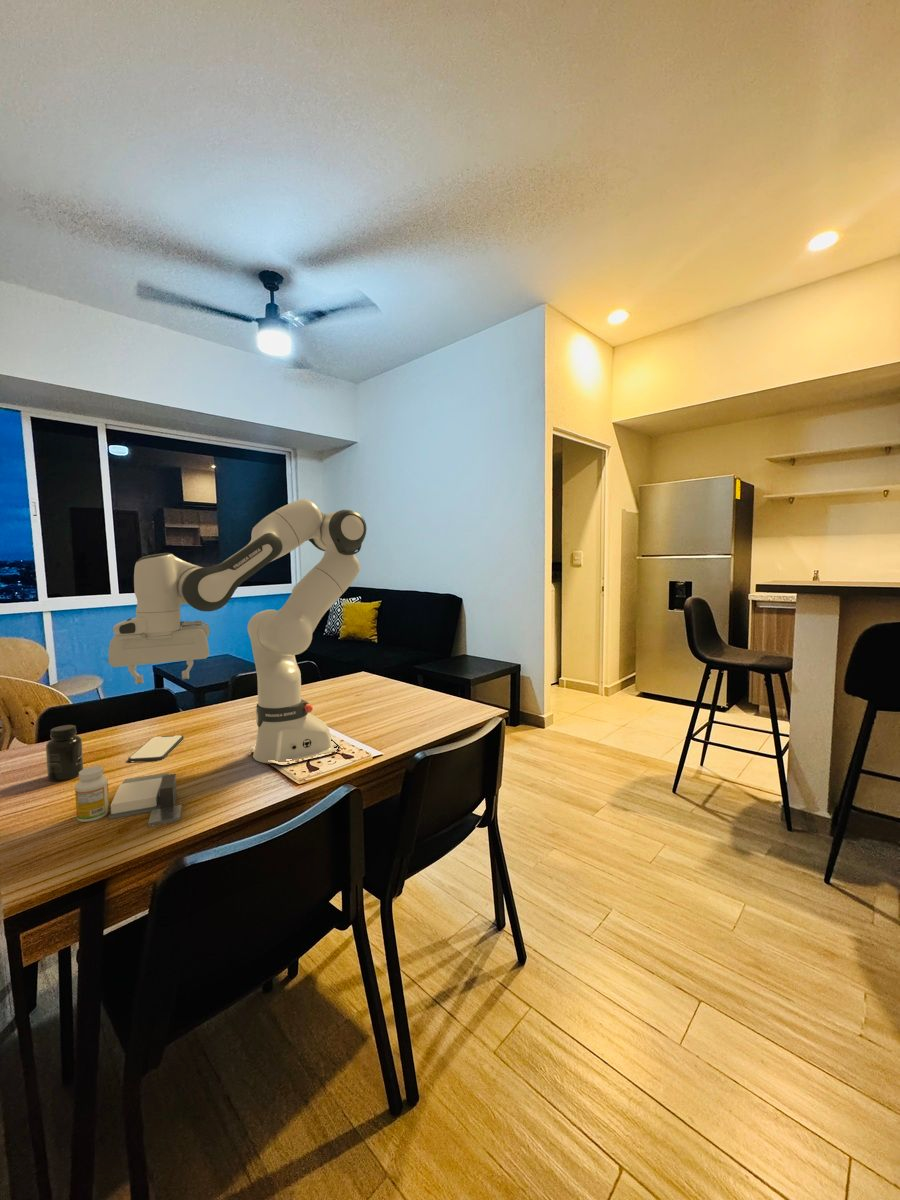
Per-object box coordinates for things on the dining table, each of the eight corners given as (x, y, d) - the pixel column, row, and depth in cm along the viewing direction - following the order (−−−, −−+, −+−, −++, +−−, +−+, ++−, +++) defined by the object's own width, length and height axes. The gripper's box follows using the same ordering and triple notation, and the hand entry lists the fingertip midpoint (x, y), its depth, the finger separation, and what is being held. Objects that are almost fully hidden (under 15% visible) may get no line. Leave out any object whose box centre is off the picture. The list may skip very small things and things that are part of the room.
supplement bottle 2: (88, 809, 102) (85, 764, 101) (115, 808, 102) (112, 764, 102) (70, 823, 97) (67, 776, 96) (98, 822, 97) (95, 775, 96)
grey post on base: (156, 798, 107) (155, 776, 106) (184, 793, 109) (183, 772, 109) (148, 827, 95) (146, 802, 95) (179, 821, 98) (178, 797, 97)
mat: (168, 773, 119) (168, 772, 119) (159, 810, 102) (159, 808, 102) (125, 780, 115) (125, 779, 115) (108, 819, 98) (108, 817, 98)
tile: (161, 777, 111) (156, 796, 102) (162, 787, 111) (156, 807, 102) (120, 784, 108) (110, 804, 99) (120, 794, 108) (111, 815, 99)
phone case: (162, 763, 127) (185, 739, 143) (162, 757, 127) (185, 734, 142) (126, 765, 125) (153, 741, 141) (125, 759, 125) (152, 736, 141)
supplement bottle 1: (88, 774, 118) (85, 726, 117) (53, 785, 113) (50, 735, 112) (77, 767, 122) (74, 721, 121) (43, 777, 117) (40, 729, 116)
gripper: (208, 618, 120) (211, 672, 121) (109, 624, 111) (113, 683, 112) (209, 621, 115) (212, 678, 116) (104, 628, 105) (109, 689, 107)
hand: (162, 681), depth 114 cm, fingers open, 8 cm apart
